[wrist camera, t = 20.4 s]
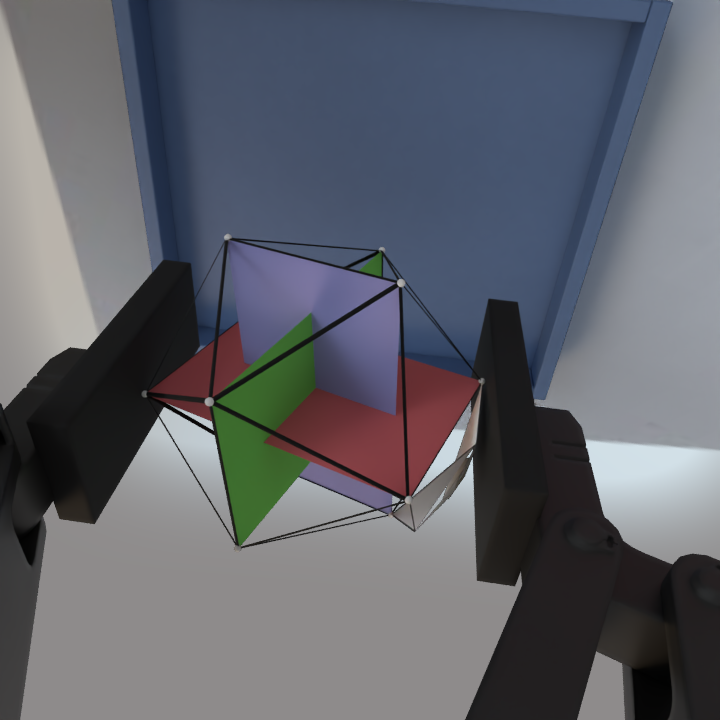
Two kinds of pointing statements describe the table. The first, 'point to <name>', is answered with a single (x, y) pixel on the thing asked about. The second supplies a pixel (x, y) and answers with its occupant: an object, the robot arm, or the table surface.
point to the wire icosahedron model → (320, 390)
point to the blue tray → (391, 146)
